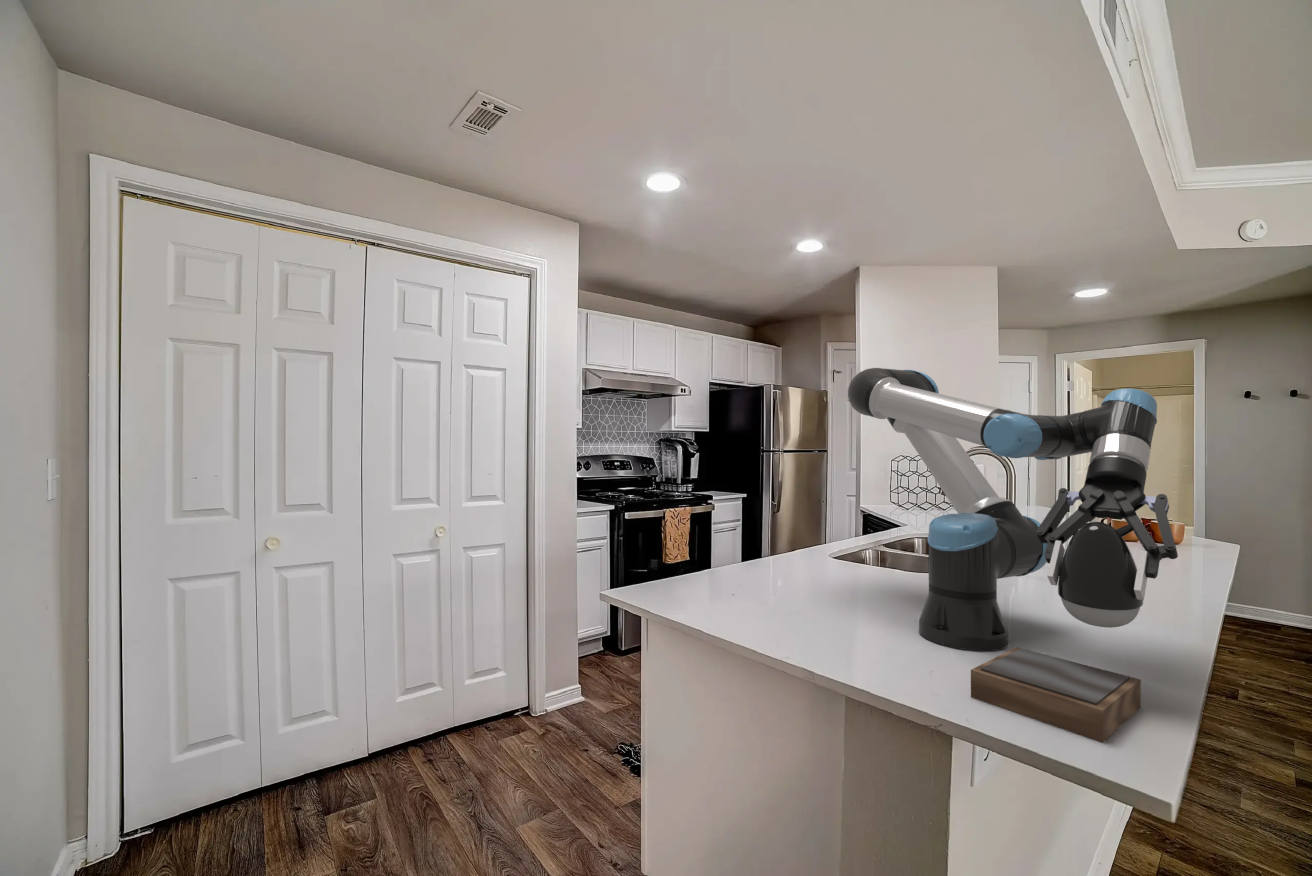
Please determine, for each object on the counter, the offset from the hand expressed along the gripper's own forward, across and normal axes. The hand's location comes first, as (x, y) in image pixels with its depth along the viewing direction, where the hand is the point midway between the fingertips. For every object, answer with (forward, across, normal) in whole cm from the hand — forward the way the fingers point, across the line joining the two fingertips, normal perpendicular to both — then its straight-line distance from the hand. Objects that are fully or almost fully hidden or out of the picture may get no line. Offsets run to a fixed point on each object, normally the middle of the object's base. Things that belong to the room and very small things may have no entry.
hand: (1093, 587), depth 85 cm
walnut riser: (+16, +3, -6) cm, 18 cm away
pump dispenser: (+2, 0, -7) cm, 7 cm away
